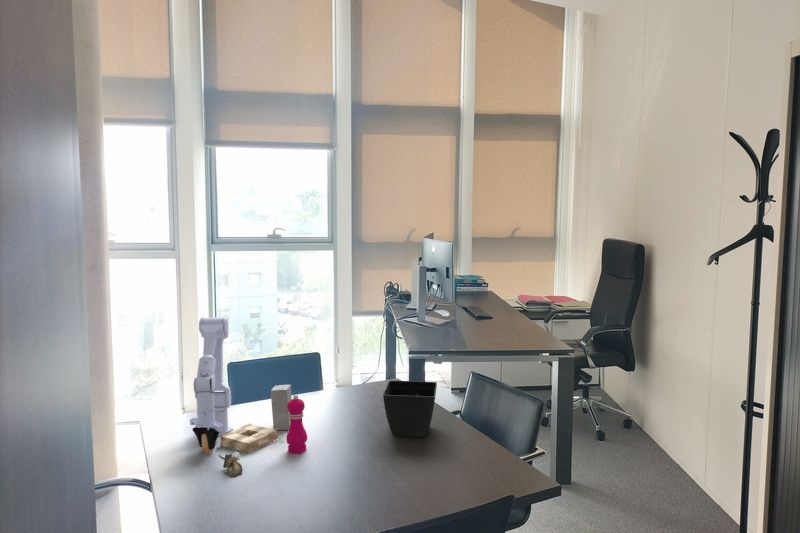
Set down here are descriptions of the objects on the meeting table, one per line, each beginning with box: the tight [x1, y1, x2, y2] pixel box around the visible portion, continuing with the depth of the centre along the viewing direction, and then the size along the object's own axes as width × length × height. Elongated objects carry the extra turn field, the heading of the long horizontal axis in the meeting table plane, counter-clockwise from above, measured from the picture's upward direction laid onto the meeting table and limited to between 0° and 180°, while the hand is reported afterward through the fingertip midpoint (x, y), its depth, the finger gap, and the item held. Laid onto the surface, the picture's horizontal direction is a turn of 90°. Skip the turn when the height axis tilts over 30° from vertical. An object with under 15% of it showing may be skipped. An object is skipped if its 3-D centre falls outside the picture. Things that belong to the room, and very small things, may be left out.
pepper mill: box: [285, 394, 308, 455], centre depth 209 cm, size 7×7×20 cm
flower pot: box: [382, 380, 438, 438], centre depth 225 cm, size 19×19×17 cm
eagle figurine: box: [218, 451, 243, 479], centre depth 193 cm, size 8×7×9 cm
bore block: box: [219, 423, 278, 454], centre depth 217 cm, size 14×14×4 cm
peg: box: [201, 434, 214, 454], centre depth 209 cm, size 4×4×6 cm
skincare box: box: [270, 384, 293, 431], centre depth 232 cm, size 8×7×16 cm
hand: (207, 447), depth 210 cm, fingers open, 4 cm apart
